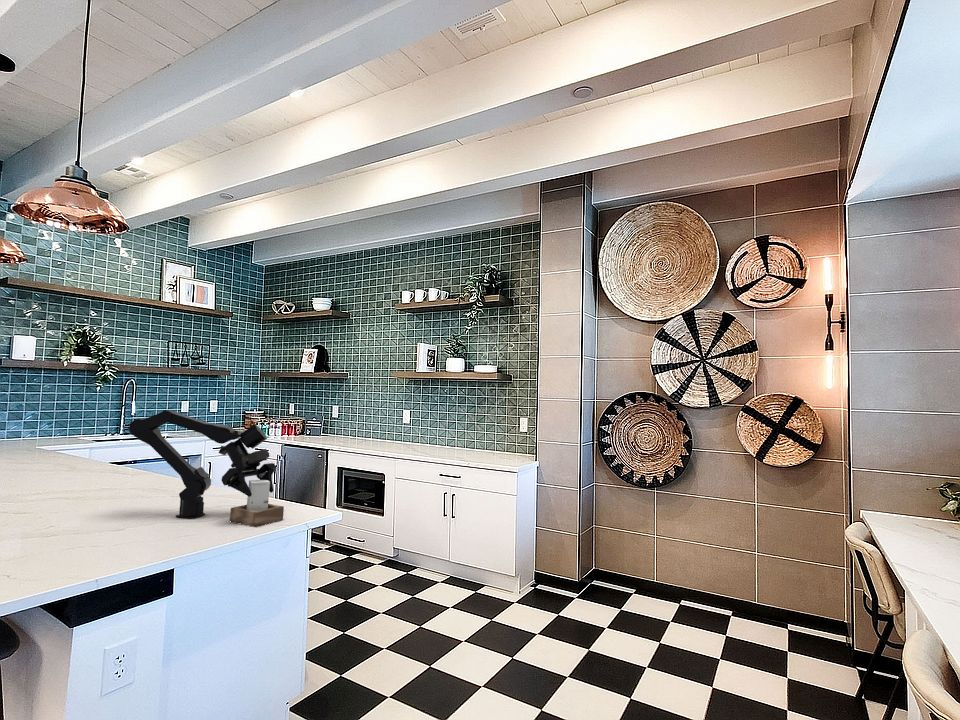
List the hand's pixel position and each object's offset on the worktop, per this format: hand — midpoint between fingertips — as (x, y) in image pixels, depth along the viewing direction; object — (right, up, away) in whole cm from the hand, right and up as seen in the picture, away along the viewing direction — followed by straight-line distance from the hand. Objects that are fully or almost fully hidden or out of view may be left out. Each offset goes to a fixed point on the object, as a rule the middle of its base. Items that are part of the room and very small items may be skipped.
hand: (261, 493), depth 178 cm
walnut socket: (-2, -9, 0) cm, 9 cm away
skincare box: (-2, -8, 0) cm, 8 cm away
